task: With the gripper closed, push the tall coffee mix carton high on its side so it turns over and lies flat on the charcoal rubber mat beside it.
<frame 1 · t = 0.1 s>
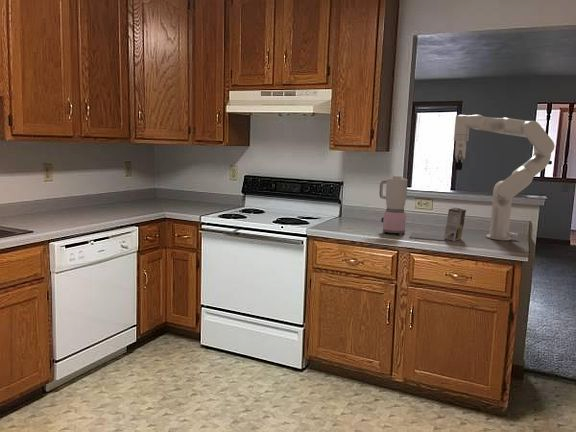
hand: (458, 169, 271), 37 cm above the worktop, tool pointing down, fingers open, 9 cm apart
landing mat: (427, 237, 267), on the worktop
coffee box: (452, 239, 263), on the worktop, touching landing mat
blender: (390, 233, 276), on the worktop
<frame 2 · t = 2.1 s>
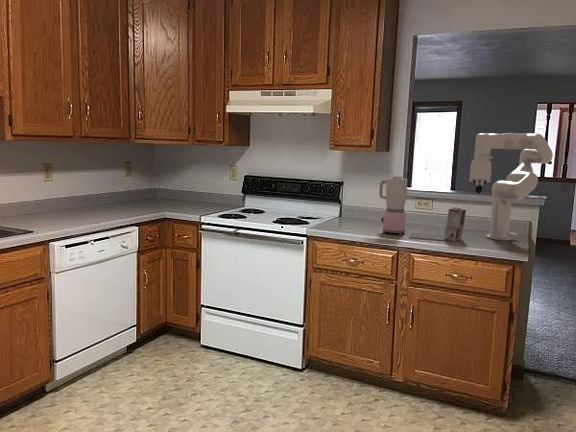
hand: (478, 193, 255), 26 cm above the worktop, tool pointing down, fingers closed
nothing on the worktop moved.
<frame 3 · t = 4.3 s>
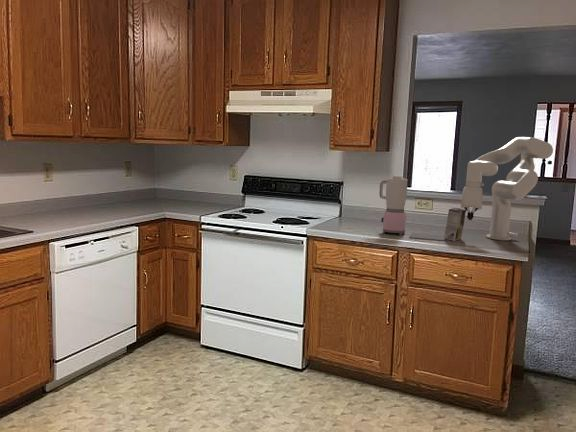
hand: (469, 219, 258), 11 cm above the worktop, tool pointing down, fingers closed
coffee box: (452, 239, 263), on the worktop, touching gripper, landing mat
everything else where it was.
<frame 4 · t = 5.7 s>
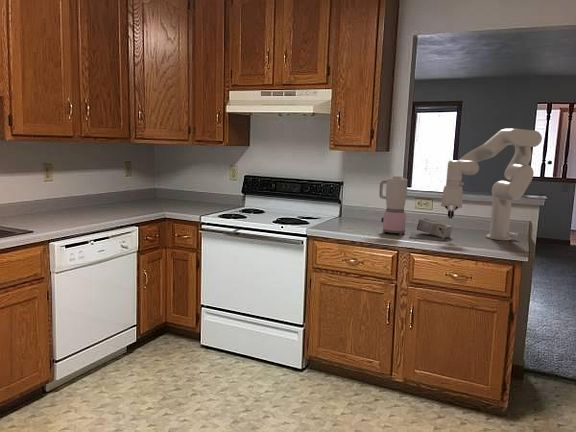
hand: (450, 218, 261), 11 cm above the worktop, tool pointing down, fingers closed
coffee box: (448, 232, 264), point 3 cm above the worktop
everything else where it was.
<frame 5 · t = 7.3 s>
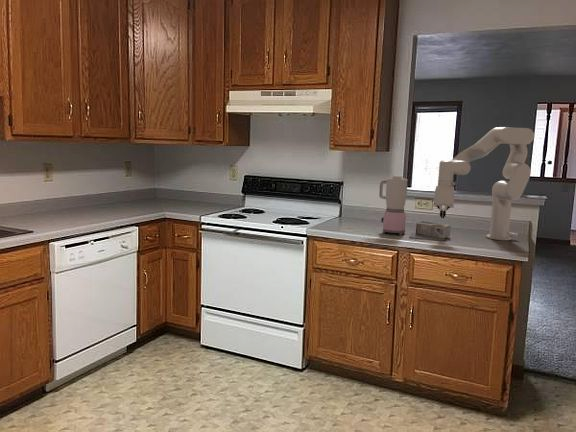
hand: (442, 217, 263), 11 cm above the worktop, tool pointing down, fingers closed
coffee box: (447, 231, 264), point 4 cm above the worktop, touching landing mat
everything else where it was.
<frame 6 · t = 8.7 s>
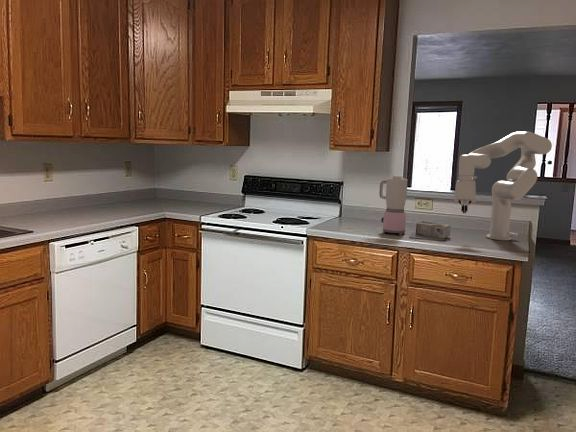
hand: (464, 212, 259), 15 cm above the worktop, tool pointing down, fingers closed
nothing on the worktop moved.
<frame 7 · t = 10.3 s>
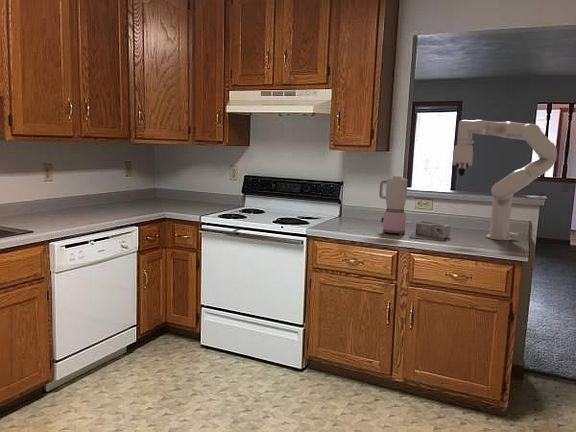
hand: (461, 175, 276), 33 cm above the worktop, tool pointing down, fingers closed
nothing on the worktop moved.
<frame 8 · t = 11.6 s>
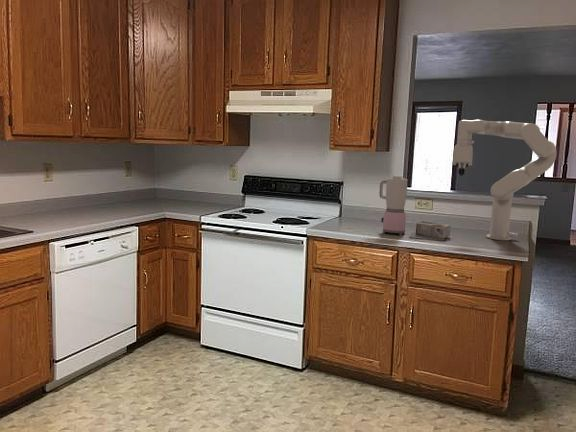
hand: (461, 175, 277), 33 cm above the worktop, tool pointing down, fingers closed
nothing on the worktop moved.
at the end: coffee box tilted 90°; coffee box touching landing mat; coffee box inside the target area (5.2 cm from its centre), point 3.7 cm above the worktop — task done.
